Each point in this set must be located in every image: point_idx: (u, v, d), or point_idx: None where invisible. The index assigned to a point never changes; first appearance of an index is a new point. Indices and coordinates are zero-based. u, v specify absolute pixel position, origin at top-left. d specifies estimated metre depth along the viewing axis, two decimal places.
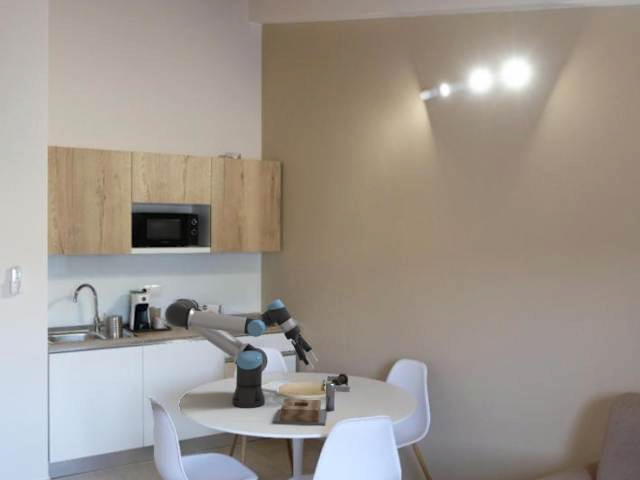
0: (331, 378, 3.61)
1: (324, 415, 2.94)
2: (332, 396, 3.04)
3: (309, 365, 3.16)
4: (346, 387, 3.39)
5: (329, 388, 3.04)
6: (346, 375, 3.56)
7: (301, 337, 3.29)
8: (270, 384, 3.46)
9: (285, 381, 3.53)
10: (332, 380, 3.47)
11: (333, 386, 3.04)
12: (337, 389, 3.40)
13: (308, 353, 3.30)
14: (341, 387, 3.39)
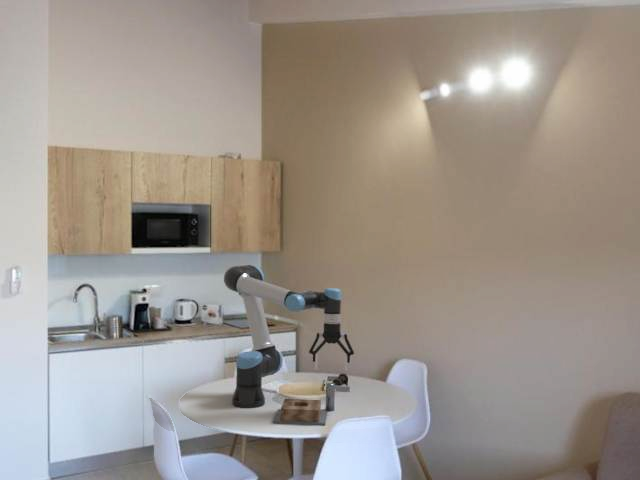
0: (331, 378, 3.61)
1: (324, 415, 2.94)
2: (332, 396, 3.04)
3: (315, 363, 3.05)
4: (346, 387, 3.39)
5: (329, 388, 3.04)
6: (346, 375, 3.56)
7: (344, 338, 3.04)
8: (270, 384, 3.46)
9: (285, 381, 3.53)
10: (333, 381, 3.47)
11: (333, 386, 3.04)
12: (337, 389, 3.40)
13: None
14: (341, 387, 3.39)
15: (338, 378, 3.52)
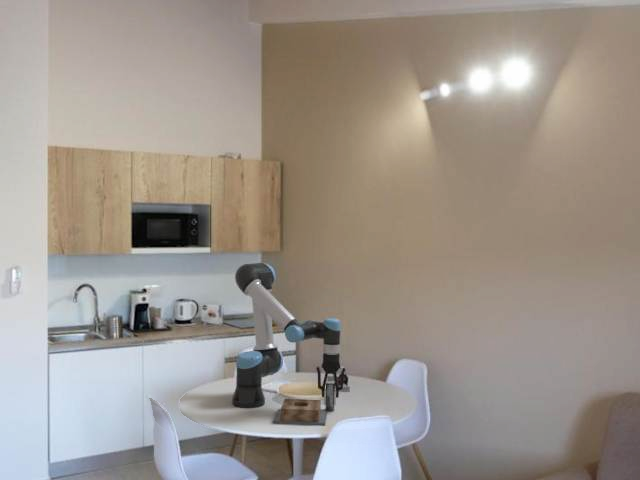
0: (331, 378, 3.61)
1: (324, 415, 2.94)
2: (332, 396, 3.04)
3: (324, 399, 3.05)
4: (346, 387, 3.39)
5: (328, 388, 3.04)
6: (346, 375, 3.57)
7: (341, 371, 3.04)
8: (270, 384, 3.46)
9: (285, 381, 3.53)
10: None
11: (333, 386, 3.04)
12: None
13: None
14: None
15: (339, 378, 3.52)
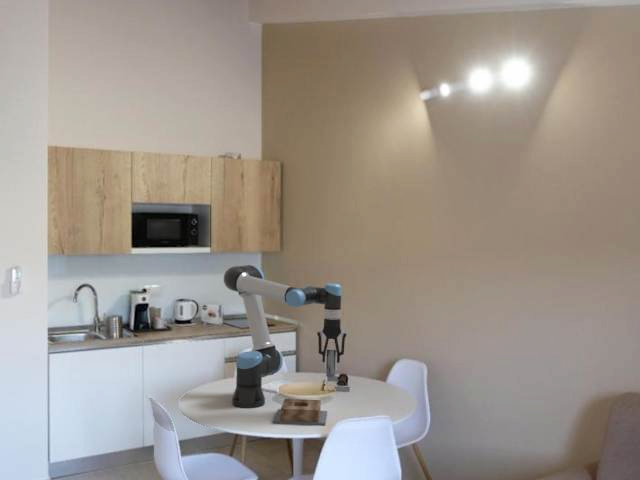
0: (331, 378, 3.61)
1: (324, 415, 2.94)
2: (333, 362, 3.03)
3: None
4: (346, 387, 3.39)
5: (329, 354, 3.03)
6: (346, 375, 3.57)
7: (342, 336, 3.03)
8: (270, 384, 3.46)
9: (285, 381, 3.53)
10: (338, 381, 3.46)
11: (334, 352, 3.04)
12: (337, 389, 3.40)
13: None
14: (341, 387, 3.39)
15: (340, 378, 3.51)
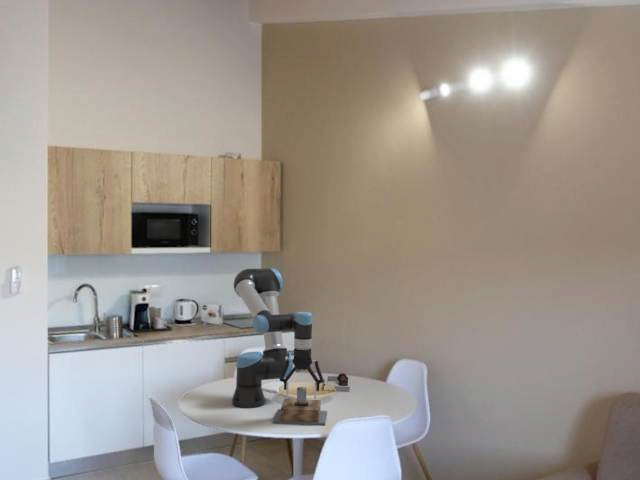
0: (331, 378, 3.61)
1: (324, 415, 2.94)
2: (303, 401, 2.91)
3: None
4: (346, 387, 3.39)
5: (300, 392, 2.90)
6: (345, 374, 3.58)
7: (315, 365, 2.90)
8: (270, 384, 3.46)
9: None
10: (341, 381, 3.46)
11: (304, 390, 2.91)
12: (337, 389, 3.40)
13: (315, 384, 2.92)
14: (341, 387, 3.39)
15: (341, 378, 3.52)
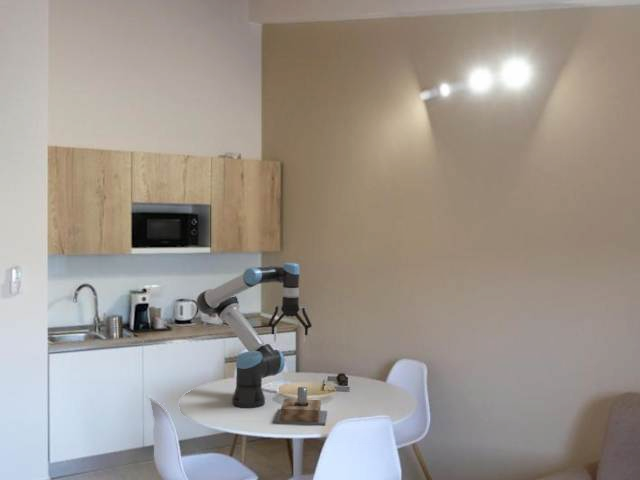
0: (331, 378, 3.61)
1: (324, 415, 2.94)
2: (304, 401, 2.91)
3: (274, 336, 3.15)
4: (346, 387, 3.39)
5: (300, 392, 2.90)
6: None
7: (302, 311, 3.13)
8: (270, 384, 3.46)
9: (285, 381, 3.53)
10: (341, 380, 3.47)
11: (305, 390, 2.91)
12: (337, 389, 3.40)
13: None
14: (341, 387, 3.39)
15: (341, 378, 3.52)
